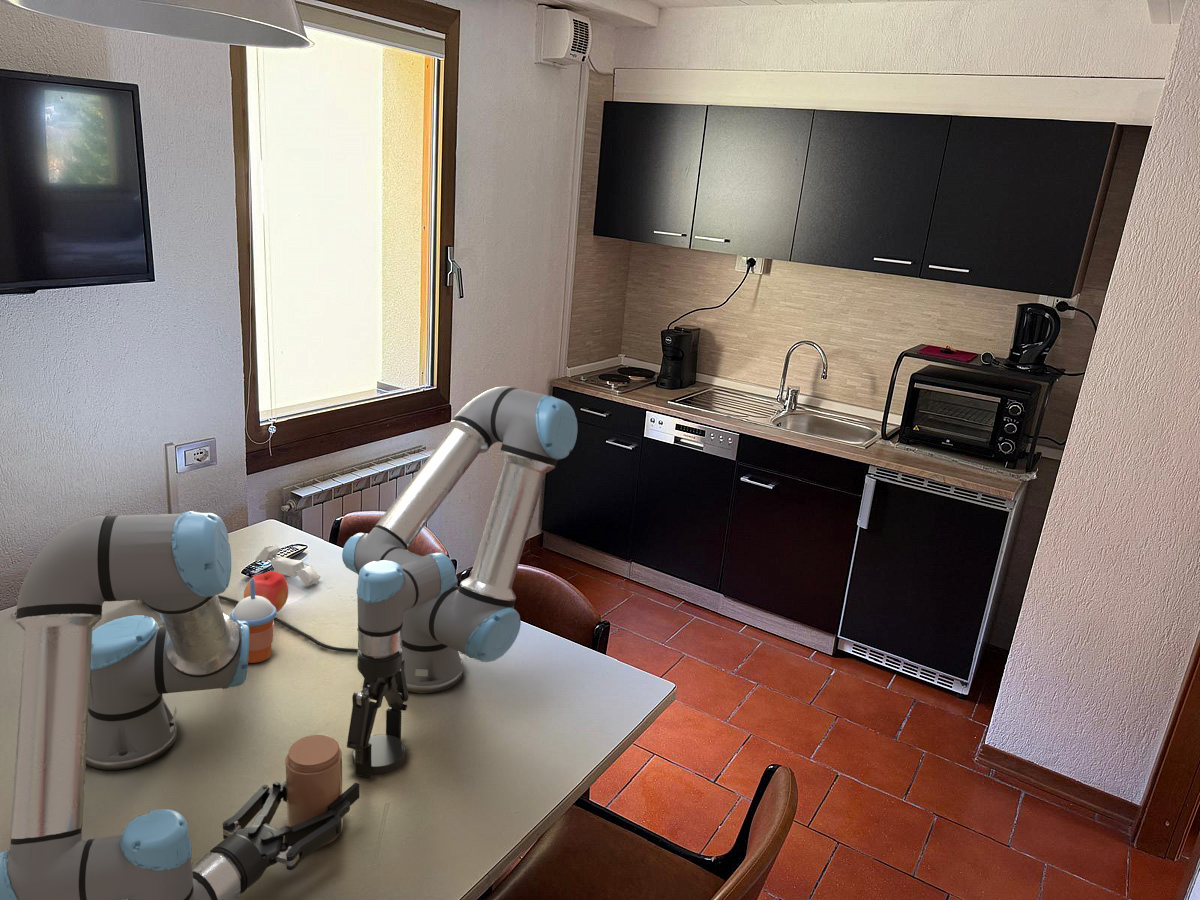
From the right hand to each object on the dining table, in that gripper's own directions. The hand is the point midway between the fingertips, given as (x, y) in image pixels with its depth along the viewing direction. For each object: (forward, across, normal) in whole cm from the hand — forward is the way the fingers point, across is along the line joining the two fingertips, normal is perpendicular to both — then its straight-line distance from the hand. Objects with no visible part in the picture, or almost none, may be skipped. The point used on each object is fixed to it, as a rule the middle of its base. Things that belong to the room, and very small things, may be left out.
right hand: (378, 757), depth 155 cm
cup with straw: (0, -20, -41) cm, 46 cm away
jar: (0, +19, 0) cm, 19 cm away
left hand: (-6, +15, 0) cm, 16 cm away
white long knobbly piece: (0, -55, -58) cm, 80 cm away
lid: (-1, 0, 0) cm, 1 cm away
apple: (0, -36, -50) cm, 62 cm away
